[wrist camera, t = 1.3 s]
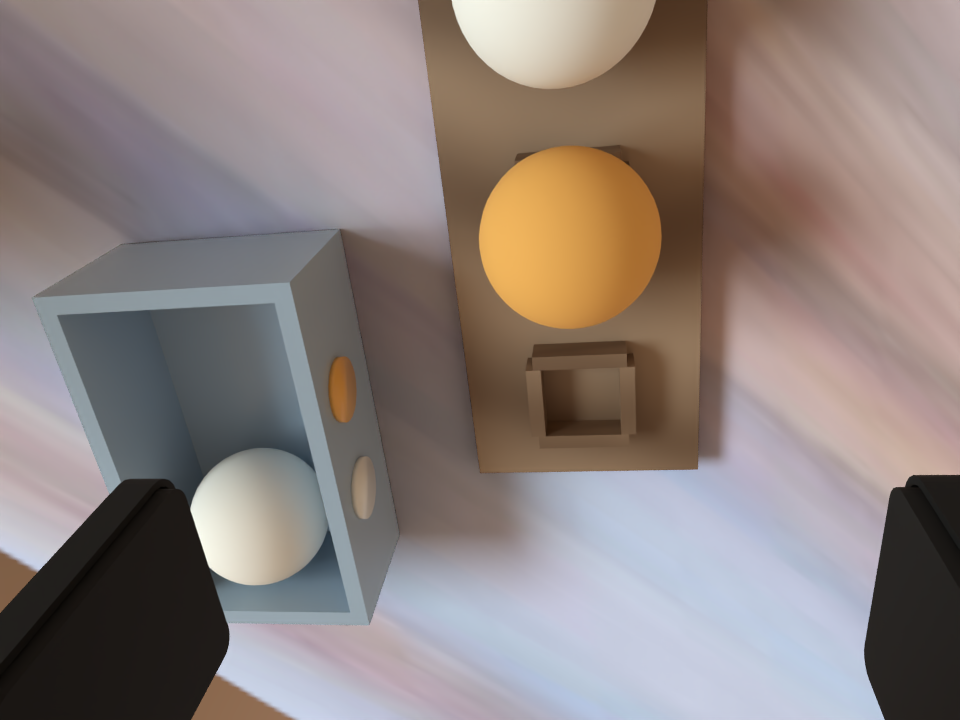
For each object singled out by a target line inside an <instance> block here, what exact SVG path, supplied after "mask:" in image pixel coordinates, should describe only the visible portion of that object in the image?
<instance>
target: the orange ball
mask: <svg viewBox="0 0 960 720" xmlns="http://www.w3.org/2000/svg"><path fill="white" fill-rule="evenodd" d="M661 238H662V235H661V221H660V217H659V212H658V208H657V206H656V203H655V200H654V198H653V196H652V194H651V192H650V191H649V189H648V187H647V185H646V184H645V183H644V181H643V180H642V179H641V177H640V176H639V175H638V174H637V173H636V172H635V171H634V170H633V169H632V168H631V167H630V166H628V165H627V164H626V163H625V162H623V161H622V160H620V159H618V158H617V157H615V156H613V155H611V154H609V153H606V152H604V151H602V150H598V149H594V148H590V147H585V146H560V147H553V148H549V149H546V150H542V151H539V152H537V153H535V154H532V155H530V156H528V157H527V158H525V159H523V160H522V161H520V162H518V163H517V164H516V165H515V166H513V167H512V168H511V169H510V170H509V171H508V172H507V173H506V174H505V175H504V176H503V177H502V178H501V179H500V181H499V182H498V184H497V185H496V186H495V188H494V189H493V191H492V192H491V194H490V196H489V198H488V200H487V202H486V205H485V208H484V210H483V214H482V219H481V223H480V231H479V249H480V254H481V260H482V264H483V267H484V270H485V273H486V275H487V277H488V279H489V281H490V283H491V285H492V286H493V288H494V290H495V291H496V293H497V294H498V295H499V296H500V297H501V298H502V300H503V301H504V302H505V303H506V304H507V305H508V306H509V307H510V308H512V309H513V310H514V311H515V312H517V313H518V314H520V315H521V316H523V317H525V318H527V319H528V320H530V321H533V322H535V323H538V324H540V325H544V326H548V327H552V328H560V329H577V328H585V327H589V326H594V325H597V324H600V323H602V322H605V321H607V320H609V319H611V318H613V317H615V316H616V315H618V314H619V313H621V312H622V311H624V310H625V309H626V308H627V307H629V306H630V305H631V304H632V303H633V302H634V301H635V300H636V299H637V298H638V297H639V296H640V295H641V293H642V292H643V291H644V289H645V288H646V286H647V285H648V283H649V281H650V279H651V277H652V275H653V273H654V271H655V268H656V265H657V262H658V259H659V255H660V250H661Z"/></svg>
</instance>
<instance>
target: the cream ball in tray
mask: <svg viewBox="0 0 960 720" xmlns="http://www.w3.org/2000/svg"><path fill="white" fill-rule="evenodd" d="M190 510H191V513H192V516H193V519H194V522H195V526H196V529H197V532H198V535H199V538H200V541H201V544H202V547H203V550H204V553H205V556H206V559H207V563H208V566H209V567H210V568H211V569H212V570H213V571H214V572H216V573H217V574H219V575H220V576H222V577H224V578H226V579H228V580H230V581H233V582H236V583H240V584H245V585H267V584H272V583H275V582H279V581H282V580H284V579H286V578H289V577H290V576H292V575H294V574H295V573H297V572H299V571H300V570H301V569H302V568H304V567H305V566H306V565H307V564H308V563H309V562H310V561H311V560H312V558H313V557H314V556H315V555H316V553H317V552H318V550H319V549H320V547H321V545H322V543H323V541H324V538H325V536H326V533H327V530H328V520H327V516H326V511H325V507H324V503H323V499H322V495H321V491H320V487H319V483H318V479H317V475H316V472H315V471H314V470H313V469H312V468H311V467H310V466H309V465H308V464H307V463H306V462H304V461H303V460H302V459H300V458H298V457H297V456H295V455H293V454H291V453H288V452H286V451H282V450H279V449H273V448H253V449H248V450H244V451H241V452H238V453H235V454H233V455H231V456H229V457H227V458H225V459H224V460H222V461H221V462H220V463H218V464H217V465H216V466H214V467H213V468H212V469H211V470H210V471H209V472H208V474H207V475H206V476H205V477H204V478H203V480H202V481H201V483H200V485H199V486H198V488H197V490H196V492H195V495H194V497H193V500H192V504H191V509H190Z"/></svg>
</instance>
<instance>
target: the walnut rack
mask: <svg viewBox="0 0 960 720" xmlns="http://www.w3.org/2000/svg"><path fill="white" fill-rule="evenodd" d="M418 4H419V11H420V19H421V27H422V34H423V42H424V49H425V57H426V65H427V72H428V80H429V87H430V95H431V103H432V110H433V118H434V126H435V133H436V141H437V148H438V156H439V164H440V171H441V179H442V187H443V194H444V202H445V209H446V217H447V225H448V232H449V240H450V247H451V255H452V263H453V270H454V278H455V286H456V293H457V301H458V308H459V316H460V324H461V331H462V339H463V346H464V354H465V362H466V369H467V377H468V385H469V392H470V400H471V407H472V415H473V423H474V430H475V438H476V446H477V453H478V461H479V468H480V473H509V472H570V471H630V470H690V469H698V433H699V384H700V335H701V286H702V236H703V187H704V138H705V89H706V40H707V0H656V2H655V5H654V8H653V12H652V14H651V16H650V19H649V21H648V23H647V26H646V27H645V29H644V31H643V33H642V34H641V36H640V38H639V39H638V41H637V42H636V43H635V45H634V46H633V47H632V49H631V50H630V51H629V52H628V53H627V54H626V55H625V56H624V57H623V58H622V59H621V61H619V62H618V63H617V64H616V65H614V66H613V67H612V68H611V69H610V70H608V71H606V72H605V73H603V74H602V75H600V76H598V77H597V78H594V79H592V80H590V81H588V82H586V83H583V84H579V85H576V86H573V87H567V88H561V89H541V88H533V87H529V86H525V85H521V84H519V83H516V82H514V81H511V80H509V79H507V78H505V77H504V76H502V75H500V74H498V73H497V72H496V71H494V70H493V69H492V68H490V67H489V66H488V65H487V64H486V63H485V62H484V61H483V60H482V59H481V58H480V57H479V56H478V55H477V54H476V53H475V51H474V50H473V49H472V47H471V46H470V45H469V43H468V41H467V40H466V38H465V36H464V35H463V33H462V31H461V28H460V26H459V24H458V21H457V19H456V15H455V12H454V9H453V5H452V0H418ZM560 146H585V147H590V148H594V149H598V150H602V151H604V152H606V153H609V154H611V155H613V156H615V157H617V158H618V159H620V160H622V161H623V162H625V163H626V164H627V165H628V166H630V167H631V168H632V169H633V170H634V171H635V172H636V173H637V174H638V175H639V176H640V177H641V179H642V180H643V181H644V183H645V184H646V185H647V187H648V189H649V191H650V192H651V194H652V196H653V198H654V200H655V203H656V206H657V208H658V212H659V217H660V221H661V235H662V238H661V250H660V255H659V259H658V262H657V265H656V268H655V271H654V273H653V275H652V277H651V279H650V281H649V283H648V285H647V286H646V288H645V289H644V291H643V292H642V293H641V295H640V296H639V297H638V298H637V299H636V300H635V301H634V302H633V303H632V304H631V305H630V306H629V307H627V308H626V309H625V310H624V311H622V312H621V313H619V314H618V315H616V316H615V317H613V318H611V319H609V320H607V321H605V322H602V323H600V324H597V325H594V326H589V327H585V328H577V329H560V328H552V327H548V326H544V325H540V324H538V323H535V322H533V321H530V320H528V319H527V318H525V317H523V316H521V315H520V314H518V313H517V312H515V311H514V310H513V309H512V308H510V307H509V306H508V305H507V304H506V303H505V302H504V301H503V300H502V298H501V297H500V296H499V295H498V294H497V293H496V291H495V290H494V288H493V286H492V285H491V283H490V281H489V279H488V277H487V275H486V273H485V270H484V267H483V264H482V260H481V254H480V249H479V231H480V223H481V219H482V214H483V210H484V208H485V205H486V202H487V200H488V198H489V196H490V194H491V192H492V191H493V189H494V188H495V186H496V185H497V184H498V182H499V181H500V179H501V178H502V177H503V176H504V175H505V174H506V173H507V172H508V171H509V170H510V169H511V168H512V167H513V166H515V165H516V164H517V163H518V162H520V161H522V160H523V159H525V158H527V157H528V156H530V155H532V154H535V153H537V152H539V151H542V150H546V149H549V148H553V147H560Z"/></svg>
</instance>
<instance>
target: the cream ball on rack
mask: <svg viewBox="0 0 960 720" xmlns="http://www.w3.org/2000/svg"><path fill="white" fill-rule="evenodd" d="M655 2H656V0H452V5H453V9H454V12H455V15H456V19H457V21H458V24H459V26H460V28H461V31H462V33H463V35H464V36H465V38H466V40H467V41H468V43H469V45H470V46H471V47H472V49H473V50H474V51H475V53H476V54H477V55H478V56H479V57H480V58H481V59H482V60H483V61H484V62H485V63H486V64H487V65H488V66H489V67H490V68H492V69H493V70H494V71H496V72H497V73H498V74H500V75H502V76H504V77H505V78H507V79H509V80H511V81H514V82H516V83H519V84H521V85H525V86H529V87H533V88H541V89H561V88H567V87H573V86H576V85H579V84H583V83H586V82H588V81H590V80H592V79H594V78H597V77H598V76H600V75H602V74H603V73H605V72H606V71H608V70H610V69H611V68H612V67H613V66H614V65H616V64H617V63H618V62H619V61H621V59H622V58H623V57H624V56H625V55H626V54H627V53H628V52H629V51H630V50H631V49H632V47H633V46H634V45H635V43H636V42H637V41H638V39H639V38H640V36H641V34H642V33H643V31H644V29H645V27H646V26H647V23H648V21H649V19H650V16H651V14H652V12H653V8H654V5H655Z"/></svg>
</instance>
